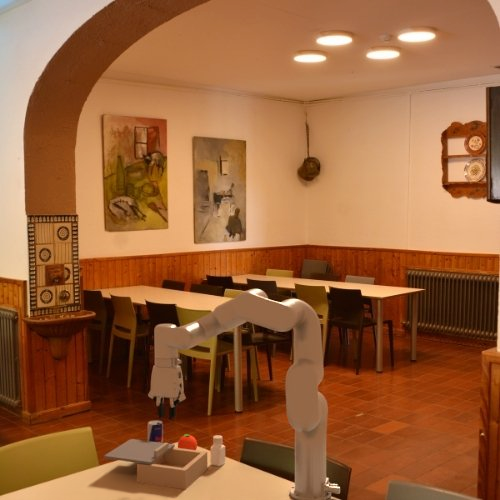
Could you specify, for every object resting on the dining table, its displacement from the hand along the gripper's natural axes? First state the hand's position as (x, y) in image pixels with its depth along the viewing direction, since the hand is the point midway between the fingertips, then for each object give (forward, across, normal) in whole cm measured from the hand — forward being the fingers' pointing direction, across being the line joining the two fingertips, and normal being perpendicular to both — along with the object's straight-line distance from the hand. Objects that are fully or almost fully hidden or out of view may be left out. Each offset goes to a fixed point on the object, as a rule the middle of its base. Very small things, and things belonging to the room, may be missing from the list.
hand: (167, 417), depth 213 cm
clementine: (+19, +2, -19) cm, 27 cm away
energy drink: (+19, +12, -14) cm, 27 cm away
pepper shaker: (+19, -12, -14) cm, 27 cm away
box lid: (+13, +10, 0) cm, 16 cm away
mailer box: (+19, -2, 0) cm, 19 cm away
